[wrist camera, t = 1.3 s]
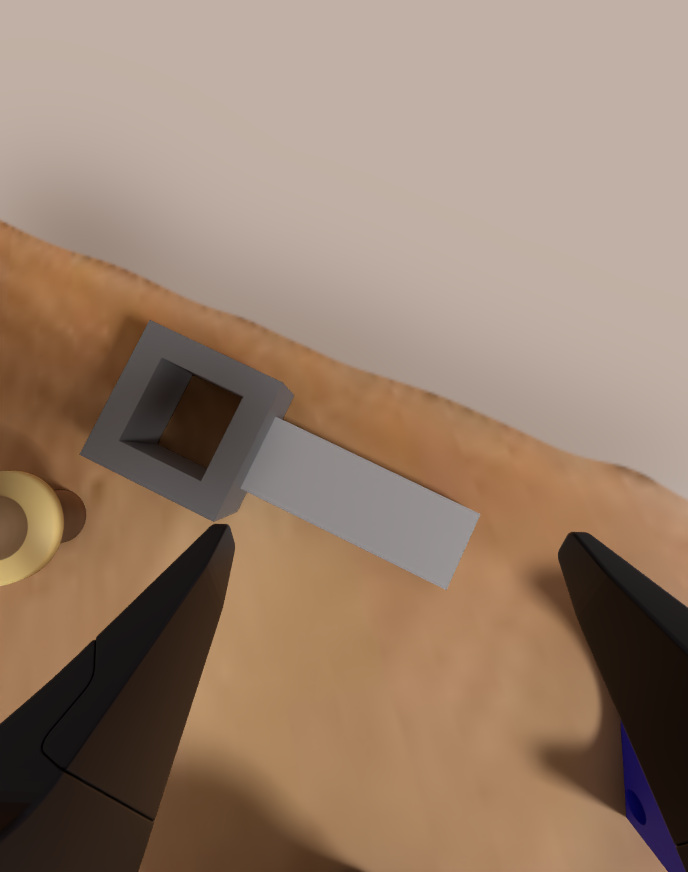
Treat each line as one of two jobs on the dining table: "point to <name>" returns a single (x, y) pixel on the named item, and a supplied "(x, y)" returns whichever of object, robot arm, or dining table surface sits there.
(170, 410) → the hitch block
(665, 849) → the blue arched block
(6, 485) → the walnut pin
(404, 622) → the dining table surface
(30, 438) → the dining table surface
